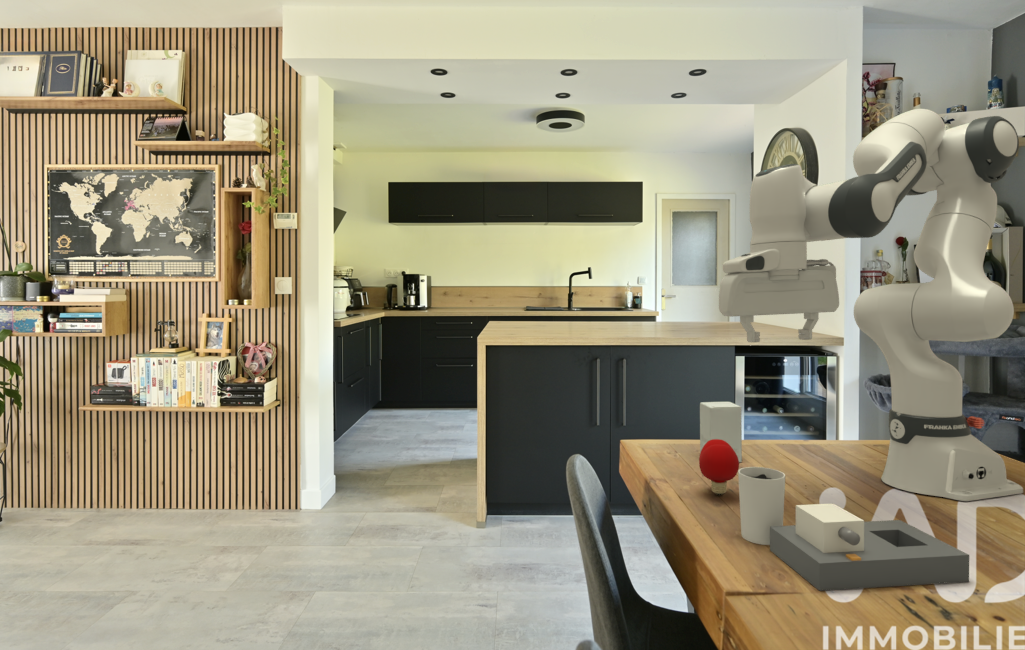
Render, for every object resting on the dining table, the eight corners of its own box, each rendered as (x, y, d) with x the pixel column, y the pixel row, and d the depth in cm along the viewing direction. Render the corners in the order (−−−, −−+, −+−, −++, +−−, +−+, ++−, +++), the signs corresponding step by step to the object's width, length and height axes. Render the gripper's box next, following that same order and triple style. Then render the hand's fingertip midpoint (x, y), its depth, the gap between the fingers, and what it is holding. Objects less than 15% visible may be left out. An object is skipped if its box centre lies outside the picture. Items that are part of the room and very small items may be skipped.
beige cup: (732, 528, 93) (731, 467, 93) (774, 528, 93) (774, 466, 92) (747, 546, 86) (747, 479, 86) (793, 546, 86) (793, 479, 86)
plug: (832, 552, 83) (832, 503, 82) (874, 580, 74) (874, 526, 74) (795, 554, 82) (795, 505, 82) (833, 582, 74) (833, 528, 74)
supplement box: (742, 462, 130) (742, 406, 129) (709, 463, 130) (709, 407, 130) (730, 454, 137) (730, 400, 137) (699, 454, 137) (699, 401, 137)
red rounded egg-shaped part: (743, 504, 104) (743, 448, 103) (702, 502, 105) (702, 447, 105) (734, 487, 113) (734, 436, 112) (696, 486, 114) (696, 435, 114)
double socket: (899, 543, 86) (899, 517, 86) (969, 581, 74) (969, 552, 74) (769, 550, 85) (769, 524, 85) (819, 590, 73) (819, 561, 73)
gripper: (823, 259, 104) (824, 336, 105) (713, 263, 102) (715, 342, 103) (847, 257, 98) (848, 339, 99) (730, 261, 96) (732, 345, 97)
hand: (779, 340), depth 101 cm, fingers open, 8 cm apart
